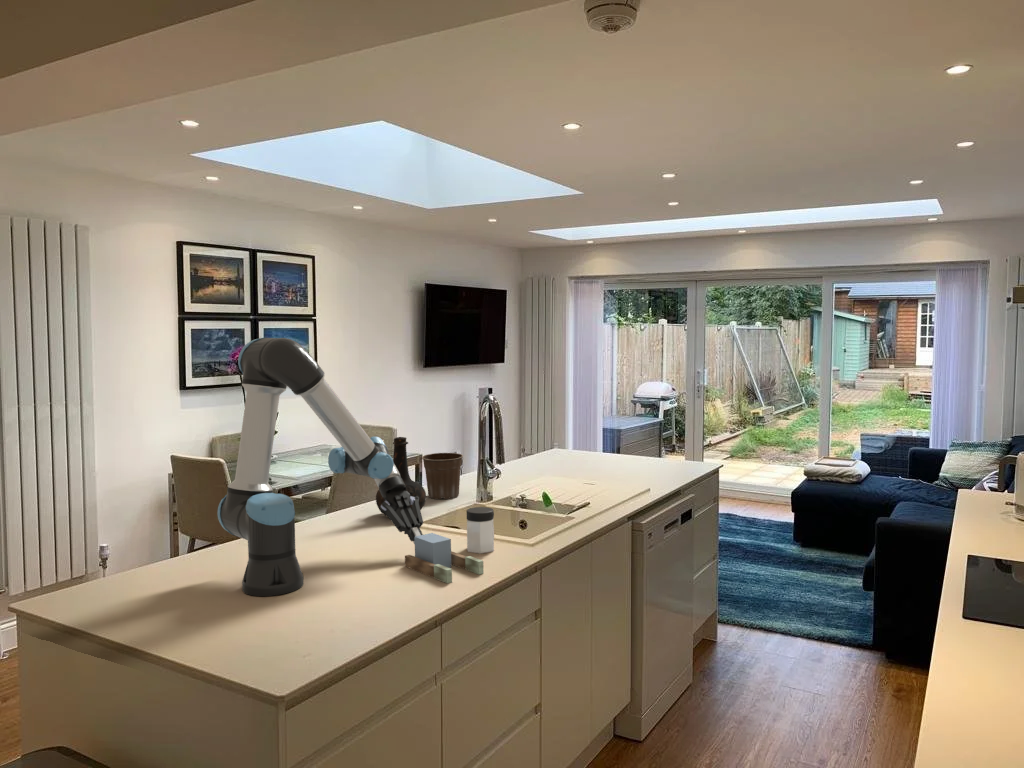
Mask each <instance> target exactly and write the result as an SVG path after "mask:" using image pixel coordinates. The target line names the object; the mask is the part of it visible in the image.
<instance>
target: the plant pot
mask: <svg viewBox="0 0 1024 768" xmlns="http://www.w3.org/2000/svg"><path fill="white" fill-rule="evenodd" d="M463 458H464V455H463V454H462V453H457V452H456V453H455V452H435V453H429V454H425V455H424V454H423V456H421V459H422V460H423V461H422V462H423V468H424V469H425V470H424V471H425V479H426V487H427V488H426V489H427V496H428V498H429V499H432V498H433V499H434V500H441V499H445V500H449V499H451V498H452V499H455V498H457V497H459V496H460V485H461V484H460V482H461V467H462V462H463ZM433 499H432V500H433Z"/></svg>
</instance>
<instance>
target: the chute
mask: <svg viewBox="0 0 1024 768" xmlns="http://www.w3.org/2000/svg"><path fill="white" fill-rule="evenodd" d="M452 565H453V566H455V567H458V568H461V569H463V570H465V571H468V572H471V573H473V574H476V575H484V560H482V559H480V558H476V557H474V556H471V555H469V556H466V555H463V554H461V553H457V552H454V551H452V550H451V566H452ZM404 566H405V567H406V568H409V569H410V570H414V571H416V572H418V573H420V574H424V575H425V576H428V577H431V578H433V579H434V580H435V579H436V580H438V581H440V582H443V583H445V584H450V583H451V584H452V583H453V568H451V567H450V568H448V567H445V566H443V565H440V564H436V565H435V564H433V563H430V562H427V561H425V560H422V559H420V558H417V557H415V555H412V554H406V555H404Z"/></svg>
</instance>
